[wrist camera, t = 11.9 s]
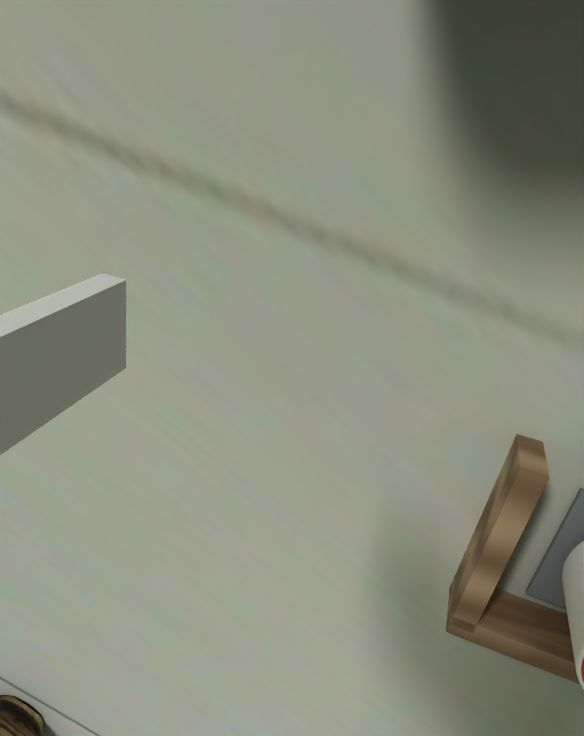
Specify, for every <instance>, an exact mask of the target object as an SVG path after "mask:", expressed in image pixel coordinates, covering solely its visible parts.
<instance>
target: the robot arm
mask: <svg viewBox="0 0 584 736" xmlns="http://www.w3.org/2000/svg"><path fill="white" fill-rule="evenodd" d="M125 368H126V280H124V279H121V278H117V277H113V276H110V275H106V274H99V275H97V276H94V277H92V278H90V279H87V280H85V281H82V282H80V283H77V284H75V285H72V286H70V287H68V288H65V289H63V290H60V291H58V292H55V293H53V294H50V295H48V296H45V297H43V298H41V299H38V300H36V301H33V302H31V303H28V304H26V305H23V306H21V307H19V308H16V309H14V310H11V311H9V312H6V313H4V314H1V315H0V455H1V454H2V453H4V452H5V451H7V450H8V449H10V448H11V447H12V446H14V445H15V444H17V443H18V442H20V441H21V440H23V439H24V438H25V437H27V436H28V435H30V434H31V433H33V432H34V431H36V430H37V429H38V428H40V427H41V426H43V425H44V424H46V423H47V422H49V421H50V420H51V419H53V418H54V417H56V416H57V415H59V414H60V413H62V412H63V411H64V410H66V409H67V408H69V407H70V406H72V405H73V404H75V403H76V402H77V401H79V400H80V399H82V398H83V397H85V396H86V395H88V394H89V393H90V392H92V391H93V390H95V389H96V388H98V387H99V386H101V385H102V384H103V383H105V382H106V381H108V380H109V379H111V378H112V377H114V376H115V375H116V374H118V373H119V372H121V371H122V370H124V369H125Z"/></svg>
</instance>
